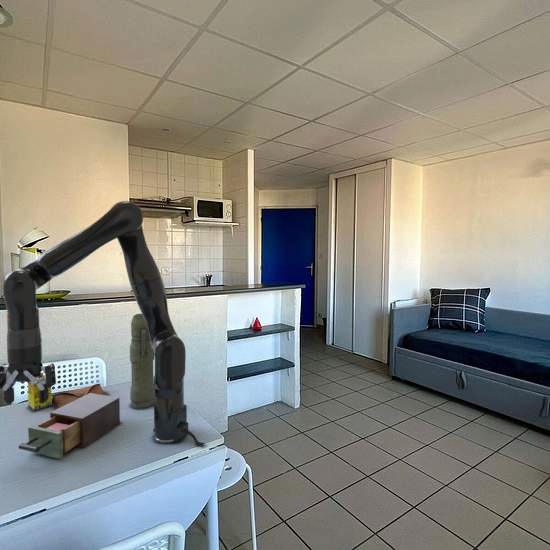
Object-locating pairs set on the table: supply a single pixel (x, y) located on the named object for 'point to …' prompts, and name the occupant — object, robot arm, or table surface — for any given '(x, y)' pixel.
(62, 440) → the drawer
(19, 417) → the table surface
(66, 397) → the sunglasses case
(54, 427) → the block
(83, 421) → the cabinet
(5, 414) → the table surface
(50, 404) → the supplement box
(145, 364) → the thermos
